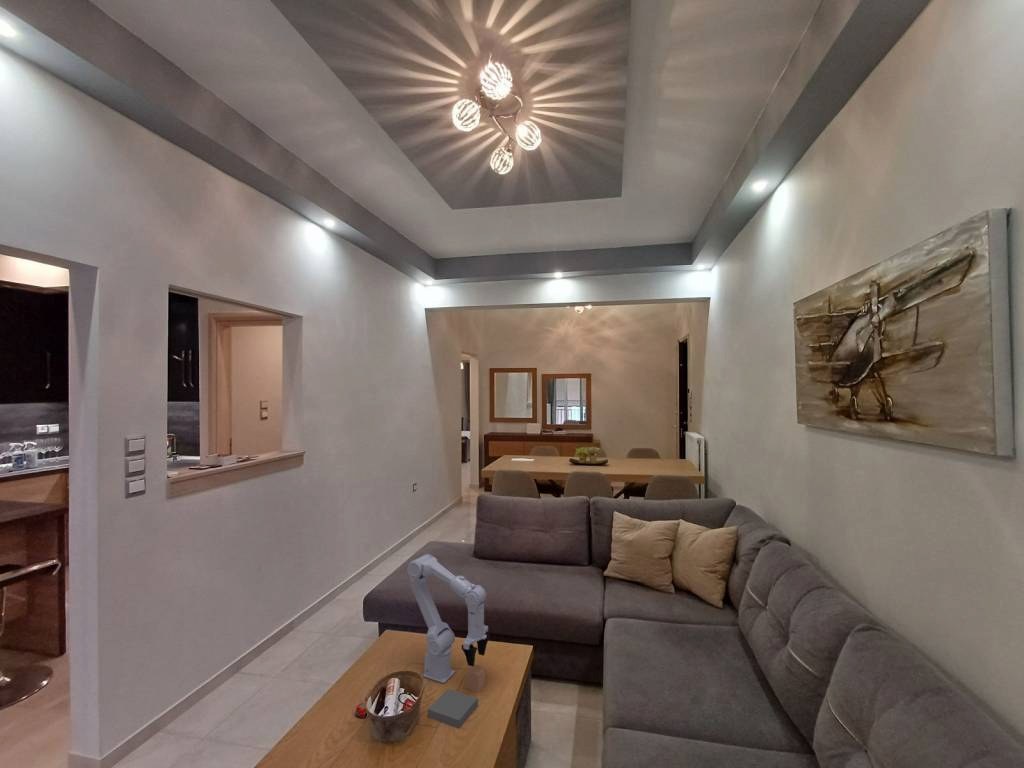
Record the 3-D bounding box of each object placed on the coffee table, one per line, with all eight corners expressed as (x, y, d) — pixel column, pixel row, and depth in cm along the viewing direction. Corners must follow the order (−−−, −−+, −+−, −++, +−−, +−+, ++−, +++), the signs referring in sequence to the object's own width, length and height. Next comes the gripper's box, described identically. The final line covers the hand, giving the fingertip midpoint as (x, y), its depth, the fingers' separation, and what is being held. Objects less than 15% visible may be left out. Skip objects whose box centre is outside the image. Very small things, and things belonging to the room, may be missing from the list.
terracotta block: (466, 688, 172) (466, 671, 172) (473, 680, 176) (473, 664, 176) (478, 692, 169) (478, 675, 169) (485, 684, 174) (485, 667, 174)
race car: (361, 722, 154) (361, 709, 154) (352, 714, 158) (352, 702, 158) (395, 702, 164) (395, 690, 164) (386, 695, 168) (386, 683, 168)
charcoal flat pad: (427, 718, 156) (427, 709, 156) (447, 697, 167) (448, 688, 167) (458, 729, 151) (459, 720, 151) (477, 707, 162) (477, 698, 162)
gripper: (475, 633, 165) (475, 673, 165) (495, 615, 178) (495, 652, 178) (458, 629, 168) (458, 668, 168) (478, 612, 181) (478, 648, 181)
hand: (476, 659), depth 173 cm, fingers open, 7 cm apart
